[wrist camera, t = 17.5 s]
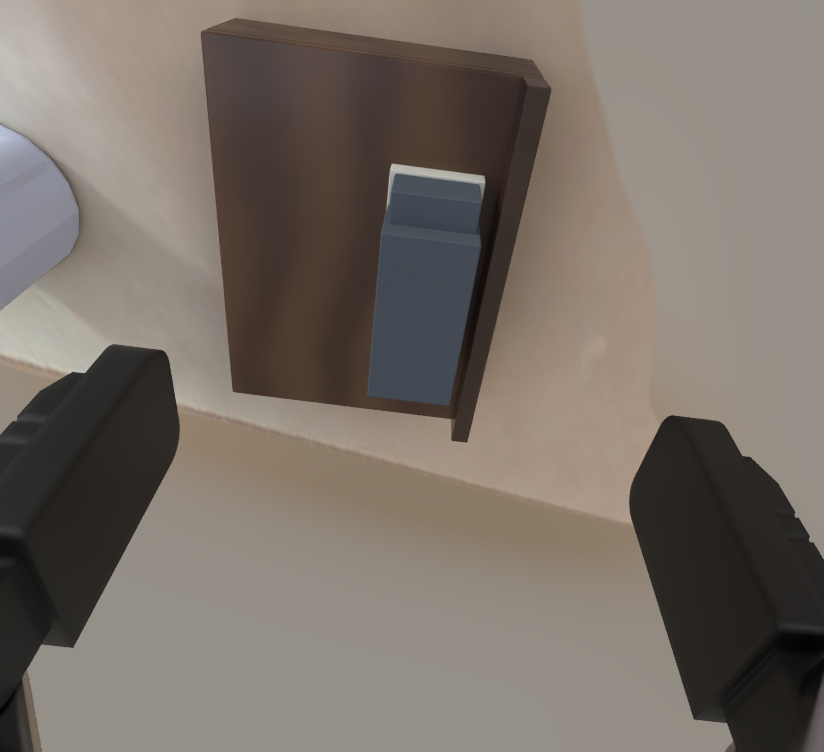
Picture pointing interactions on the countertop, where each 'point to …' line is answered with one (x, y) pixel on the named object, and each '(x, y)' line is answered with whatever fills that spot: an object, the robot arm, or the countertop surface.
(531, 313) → the countertop surface
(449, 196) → the stepped grey pillar
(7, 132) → the soap bottle
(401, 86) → the board
